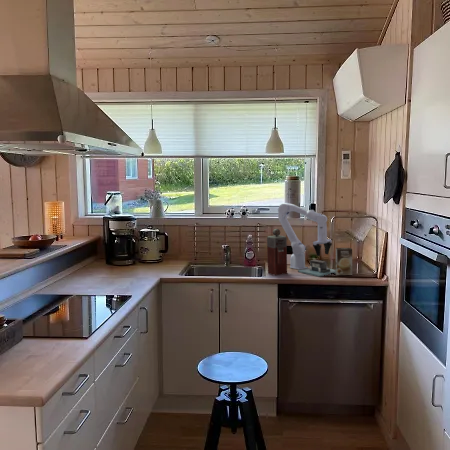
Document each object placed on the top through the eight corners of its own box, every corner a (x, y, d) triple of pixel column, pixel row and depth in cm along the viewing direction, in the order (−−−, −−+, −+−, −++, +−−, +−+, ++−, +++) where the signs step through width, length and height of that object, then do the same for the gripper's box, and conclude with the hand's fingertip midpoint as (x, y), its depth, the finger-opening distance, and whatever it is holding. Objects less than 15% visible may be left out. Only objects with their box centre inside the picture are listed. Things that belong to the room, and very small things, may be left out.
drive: (310, 269, 283) (310, 260, 283) (314, 268, 286) (314, 259, 285) (321, 272, 275) (321, 262, 275) (326, 271, 277) (326, 261, 277)
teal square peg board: (297, 272, 283) (297, 266, 282) (318, 267, 293) (318, 262, 292) (319, 276, 268) (319, 271, 268) (339, 272, 278) (339, 266, 278)
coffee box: (336, 275, 269) (336, 249, 267) (335, 273, 275) (335, 247, 273) (352, 275, 268) (352, 249, 266) (350, 273, 274) (350, 247, 272)
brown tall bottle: (277, 276, 274) (276, 230, 271) (267, 272, 284) (266, 228, 281) (289, 274, 278) (288, 229, 275) (279, 271, 288) (278, 227, 285)
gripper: (318, 235, 278) (319, 257, 280) (335, 233, 286) (335, 254, 288) (310, 234, 284) (310, 255, 285) (326, 232, 292) (327, 252, 293)
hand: (322, 254), depth 287 cm, fingers open, 7 cm apart
